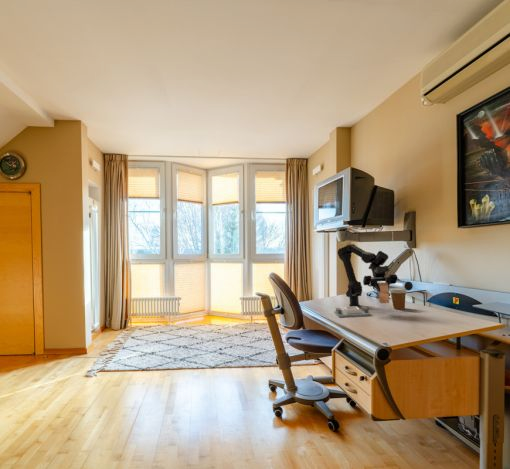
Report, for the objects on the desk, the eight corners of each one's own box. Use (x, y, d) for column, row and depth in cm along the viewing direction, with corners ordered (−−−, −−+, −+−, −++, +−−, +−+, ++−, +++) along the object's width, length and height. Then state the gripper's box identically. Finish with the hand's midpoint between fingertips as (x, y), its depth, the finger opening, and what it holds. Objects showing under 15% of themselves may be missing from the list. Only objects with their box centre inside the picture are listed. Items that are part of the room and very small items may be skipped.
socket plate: (334, 312, 215) (334, 306, 215) (364, 311, 214) (364, 305, 214) (338, 317, 201) (338, 310, 201) (371, 315, 200) (370, 309, 200)
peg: (378, 302, 204) (377, 283, 205) (386, 301, 204) (385, 282, 205) (381, 303, 200) (380, 283, 200) (389, 303, 200) (387, 283, 200)
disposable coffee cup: (408, 310, 210) (406, 289, 210) (391, 310, 213) (389, 290, 213) (407, 307, 219) (405, 287, 219) (390, 307, 222) (389, 287, 222)
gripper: (362, 262, 207) (369, 283, 196) (395, 260, 206) (403, 281, 195) (360, 274, 215) (366, 295, 203) (391, 272, 214) (399, 293, 203)
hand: (384, 291), depth 201 cm, fingers closed on peg, 4 cm apart
